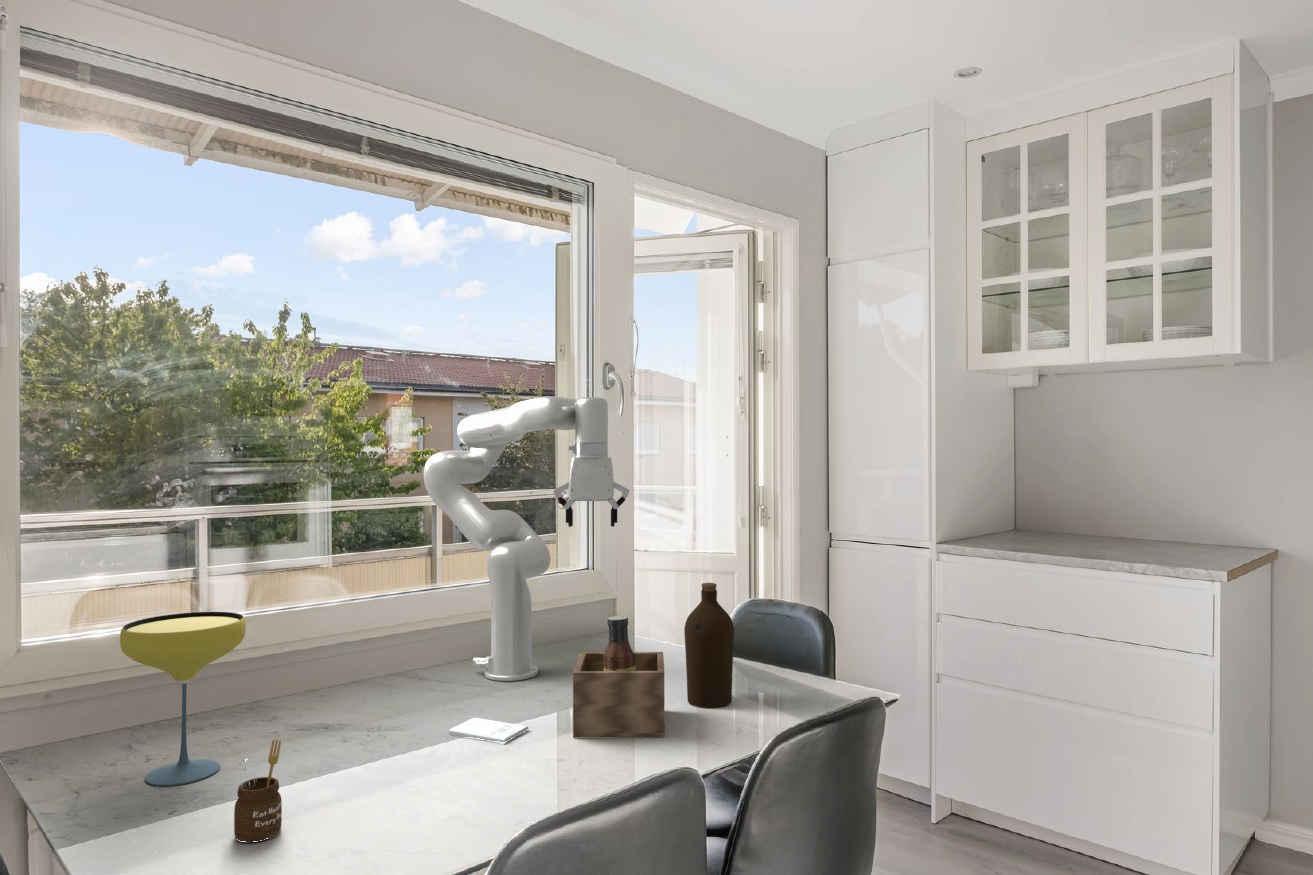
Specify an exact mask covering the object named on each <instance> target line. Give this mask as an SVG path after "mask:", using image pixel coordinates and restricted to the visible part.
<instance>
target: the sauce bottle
mask: <svg viewBox="0 0 1313 875" xmlns="http://www.w3.org/2000/svg"><path fill="white" fill-rule="evenodd" d="M628 625H629V618H628V616H625V615H624V616H623V615H614V616H609V617H607V626H608V643H607V645H606V646H605V648H604V651H603V652H604V671H636V668H635V658H634V653H633V652H634V651H633V650H632V647H631V645H630V641H629V635H628V633H629V632H628Z"/></svg>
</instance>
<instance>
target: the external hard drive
mask: <svg viewBox="0 0 1313 875" xmlns="http://www.w3.org/2000/svg"><path fill="white" fill-rule="evenodd" d="M527 729H528V730H529V726H527V725H521V724H516V723H510V722H504V721H498V720H492V719H485V718H480V717H472V718H470V719H468V720H466V721H464V722H462V723H460V724H458V725H455V726H454V727H451V728H450V729H449V730H448V735H449V736H452V737H457V736H458V738H463V737H473V738H480V739H485V740H491V741H500V742H505V741H508V740H510V739H511V738H513V737H515V736H517V735H519V734H520V733H523V732H524V731H526V730H527ZM523 734H524V733H523ZM517 737H518V736H517ZM515 738H516V737H515Z"/></svg>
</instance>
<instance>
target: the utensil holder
mask: <svg viewBox="0 0 1313 875" xmlns="http://www.w3.org/2000/svg"><path fill="white" fill-rule="evenodd" d="M281 744H282V740H278V739H276V740H275V739H272V741H271V746H270V750H269V755H268V760H267V762H268V763H269V765H270V766H269V772H268V776H261V777H256V776H253V778H251V779H249V777H246V781H244V778H243V775H242V774H243V773H242V772H240V774H239V776H238V781H239V786H238V787H237V793H236V794H237V797H238V798H237V799H236V802H235V805H234V812H233V813H234V814H233V817H234V818H233V820H234V821H233V826H234V827H233V830H234V831H233V832H234V838H235V839H238V840H240V841H246V842H253V841H260V840H264V839H266V838H270V837H272V838H274V837H275V836H274V835H276V834H277V833H278V832H279V833H280V831H281V829H282V820H283V819H282V816H283V815H282V812H283V809H282V807H283V806H282V803H283V802H282V796H281V793H280V792H279V789H280V783H279V780H278V779H277V778H276V777H273V776H272V775H273V770H274V766H275V765H276V764H278V762H279V761H278V760H279V758H280V751H281ZM250 761H251V762H252V763H251V762H250ZM248 762H249V764H250V765H252V766H251V768H252V769H253V770H252V773H253V774H255V773H256V772H255V769H256V771H258V770H257V764H256V762H254V760H253V759H250V760H248V758H245V759H242V760H241V761H240V762H239V763H238V766H237V770H236V772H237V773H239V772H238V769H239V770H242V764H243V763H245V764H244V766H245V768H246V769H249V768H248V767H249V766H248V765H247V763H248ZM254 765H255V766H254ZM254 767H255V768H254ZM245 773H246V775H247V776H250V773H249V772H248V771H245ZM279 833H278V834H279ZM278 834H277V835H278ZM277 835H276V836H277ZM273 836H274V837H273ZM270 839H271V838H270Z"/></svg>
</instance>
